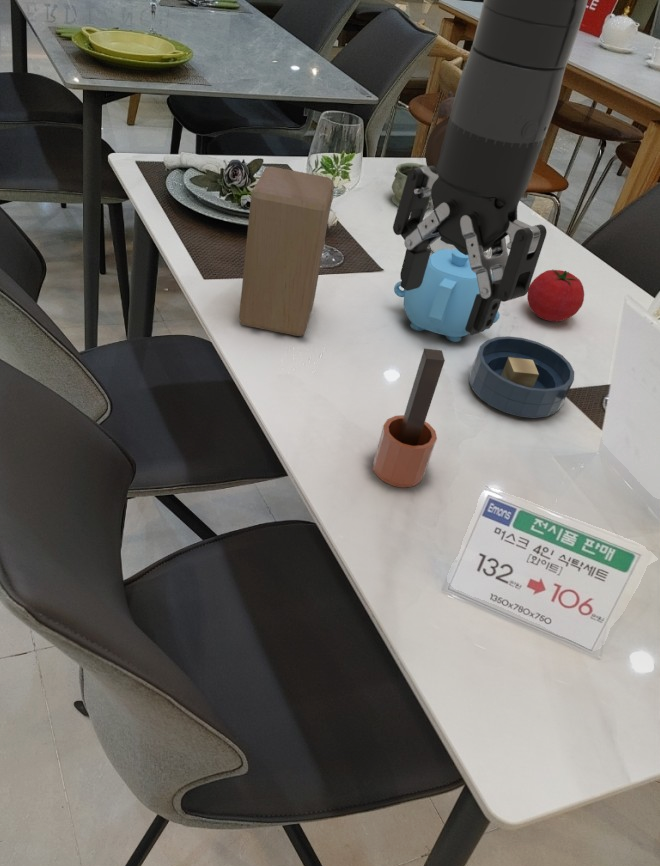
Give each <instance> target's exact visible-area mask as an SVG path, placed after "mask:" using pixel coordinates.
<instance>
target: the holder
mask: <svg viewBox="0 0 660 866" xmlns="http://www.w3.org/2000/svg"><path fill="white" fill-rule="evenodd" d="M403 417H404V414H402V415H393V416H391V417H389V418H388V419H386V420H385V422H384V424H383V425H382V429H381V433H380V437H379V441H378V443H377V447H376V451H375V454H374V458H373V465H372V469H373V472H374V473H375V475H376V476H377V477H378V478H379V479H380V480H381V481H382V482H384V483H386V484H387V485H390V486H393V487H397V488H411V487H415V486H417V485H419V484H420V483H421V482H422V480H423V479H424V476H425V474H426V472H427V468H428V466H429V463H430V460H431V457H432V454H433V451H434V448H435V446H436V443H437V440H438V438H437V437H438V436H437V433H436V432H437V431H436V430H435V428H434V427H433V426H432V425H431V424H430V423H429V422H427V421H425V423H424V426H423V429H422V432H421V435H420V438H419V441H418V444H417V446H412V445H407V444H403V443H401V442H400V441H398V440H397V437H398V434H399V431H400V427H401V424H402V421H403Z"/></svg>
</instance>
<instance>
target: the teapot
mask: <svg viewBox="0 0 660 866" xmlns="http://www.w3.org/2000/svg"><path fill="white" fill-rule="evenodd" d="M491 275H492V273H491ZM492 280H493V275H492ZM401 281H402V280H401ZM401 281H397V282H396V283H395V285H394V286H393V292H394V294H395V295H396V296H398V297H399V298H403V308H404V311H405V313H406V316H407V318H408V320H409V322H411V323H410V327H411V329H413V330H415V331H420V332H422V331H424V330H425V331H427V332H428V331H429V332H432V333H435V334H437V335H438V334H439V335H443V336H445V338H446V339H447V340H449V341H450V342H455V343H458V342H460V341H461V340H462V337H464V336H467V335H470V333H468V332H467V331H466V330H465V328H466V325H467V322H468V319H469V316H470V313H471V310H472V307H473V304H474V301H475V298H476V295H477V294H480V292H479V287H478V282H477V276H476V273H475V272H473V271H472V270H471V267H470V262H469V257H468V255H464V254H463V253H461V252H459V251H458V250H457V249H454V250H451V249H441V250H438V251H436V252H432V254H430V257H429V260H428V264H427V267H426V271H425V274H424V278H423V282H422V284H421V286H420V287H419V288H416V289H412V290H409V291H406V290H405V289H404V288H403V290H402V289H400V287H401ZM499 319H500V312H499V310H498V311H497V314H496V317H495V320H494V322H493V324H496V323H497V322H498V320H499Z"/></svg>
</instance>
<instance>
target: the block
mask: <svg viewBox="0 0 660 866" xmlns="http://www.w3.org/2000/svg"><path fill="white" fill-rule="evenodd" d="M538 375H539V373H538V371H537V368H536V366H535V364H534V361H533V360H530V359H521V358H512V357H508V359H507V362H506V364H505V367H504V369H503V372H502V374H501V377H503V378H505V379H507V380H509V381H511V382H514V383H516V384H519V385H523V386H526V387H530V388H533V387H534V385H535V382H536V380H537V378H538Z"/></svg>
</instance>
